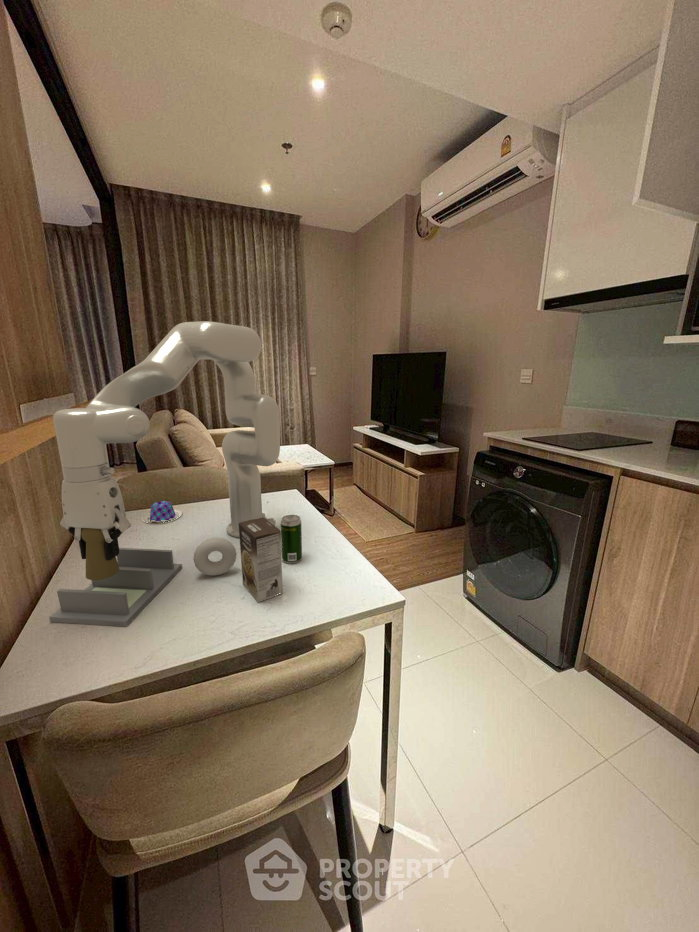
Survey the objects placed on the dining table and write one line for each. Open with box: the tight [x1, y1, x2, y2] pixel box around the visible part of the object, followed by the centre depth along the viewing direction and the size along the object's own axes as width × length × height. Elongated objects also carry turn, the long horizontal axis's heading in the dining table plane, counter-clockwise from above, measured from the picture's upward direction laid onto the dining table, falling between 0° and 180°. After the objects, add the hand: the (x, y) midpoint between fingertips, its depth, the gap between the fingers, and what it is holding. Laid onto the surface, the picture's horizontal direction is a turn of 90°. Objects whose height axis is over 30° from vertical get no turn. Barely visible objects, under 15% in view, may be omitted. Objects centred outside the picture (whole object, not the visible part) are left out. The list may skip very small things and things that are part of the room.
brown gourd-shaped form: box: [81, 528, 120, 581], centre depth 77 cm, size 6×6×11 cm
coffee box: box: [238, 517, 283, 603], centre depth 85 cm, size 9×6×16 cm
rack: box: [49, 547, 183, 628], centre depth 84 cm, size 16×22×6 cm
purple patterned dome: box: [142, 500, 183, 524], centre depth 125 cm, size 12×12×5 cm
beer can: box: [280, 514, 303, 565], centre depth 98 cm, size 5×5×12 cm
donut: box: [193, 537, 238, 576], centre depth 91 cm, size 10×4×10 cm, turn 109°
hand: (100, 555), depth 77 cm, fingers closed on brown gourd-shaped form, 4 cm apart
